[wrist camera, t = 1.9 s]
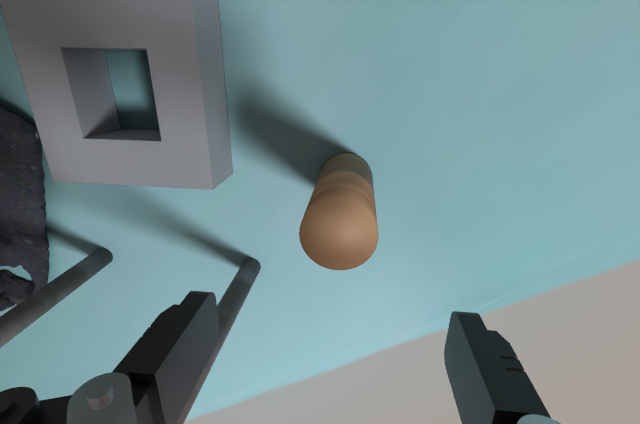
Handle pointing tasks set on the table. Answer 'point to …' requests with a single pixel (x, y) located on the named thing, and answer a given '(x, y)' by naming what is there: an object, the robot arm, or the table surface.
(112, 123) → the socket
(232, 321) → the small wooden table
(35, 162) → the dark slate chunk
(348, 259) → the peg
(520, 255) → the table surface
